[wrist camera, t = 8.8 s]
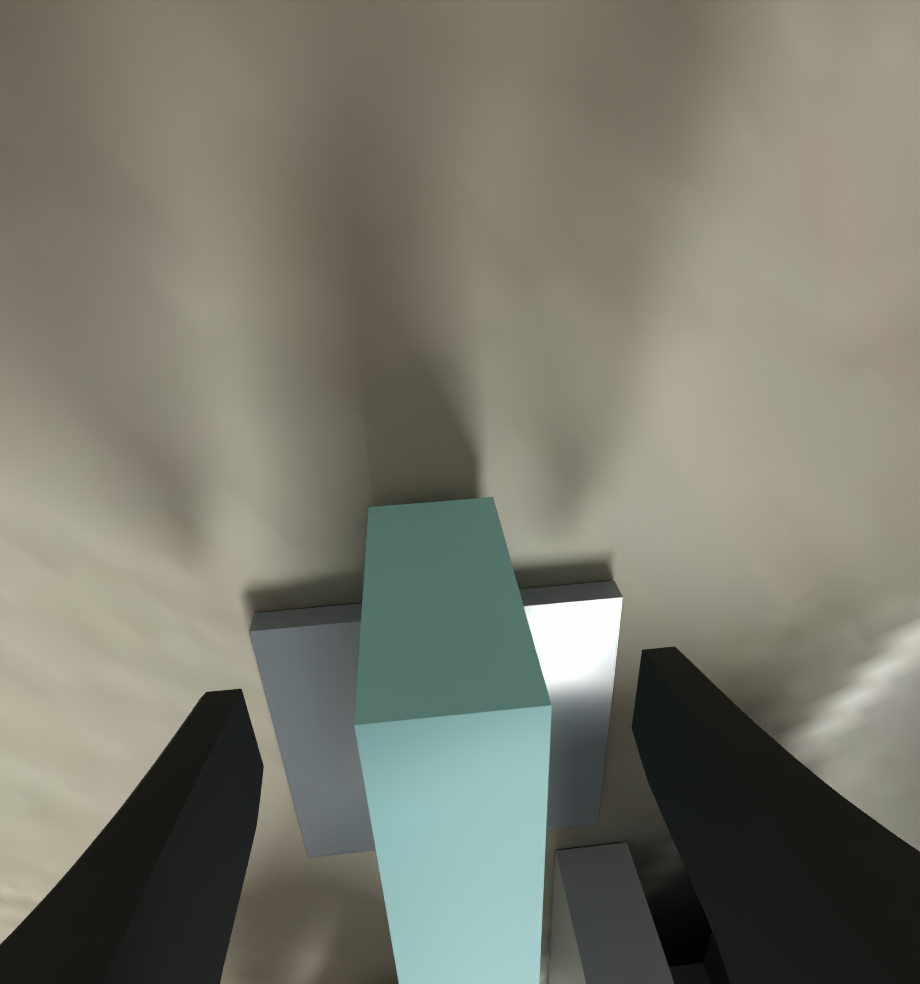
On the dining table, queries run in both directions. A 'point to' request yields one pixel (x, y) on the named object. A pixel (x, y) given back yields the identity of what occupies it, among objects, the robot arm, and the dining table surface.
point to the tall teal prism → (453, 744)
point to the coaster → (332, 701)
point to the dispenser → (612, 925)
